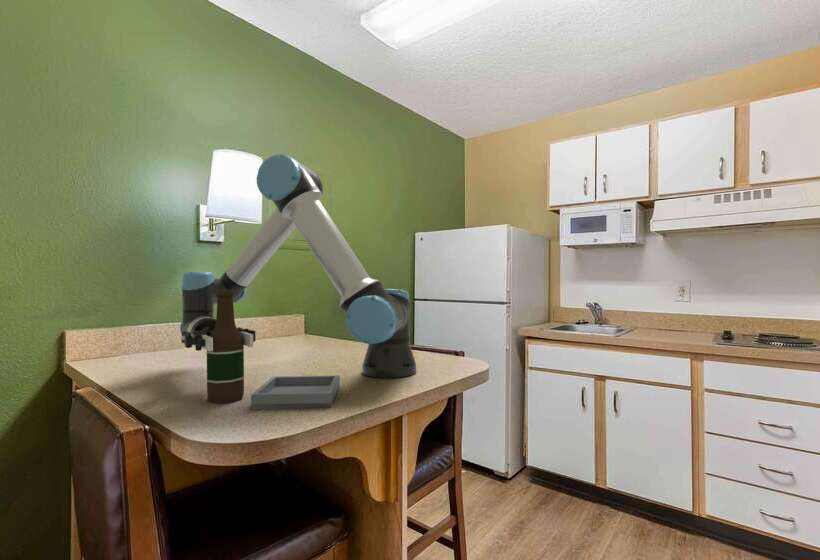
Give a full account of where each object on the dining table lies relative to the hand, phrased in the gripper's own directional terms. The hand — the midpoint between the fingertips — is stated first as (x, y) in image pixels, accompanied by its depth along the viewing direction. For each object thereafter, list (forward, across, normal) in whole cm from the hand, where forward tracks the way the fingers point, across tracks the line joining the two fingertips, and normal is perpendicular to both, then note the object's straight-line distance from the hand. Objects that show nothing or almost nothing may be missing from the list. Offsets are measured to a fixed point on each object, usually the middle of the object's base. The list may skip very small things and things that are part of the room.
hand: (231, 342), depth 90 cm
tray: (+4, -13, -13) cm, 19 cm away
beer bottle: (-5, 0, -13) cm, 14 cm away
